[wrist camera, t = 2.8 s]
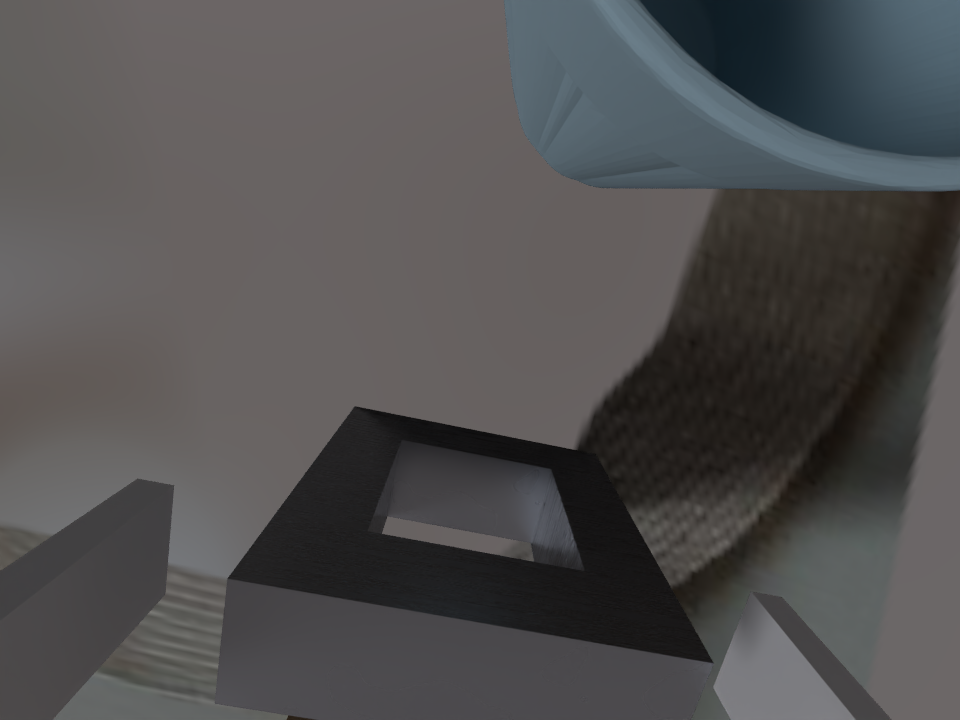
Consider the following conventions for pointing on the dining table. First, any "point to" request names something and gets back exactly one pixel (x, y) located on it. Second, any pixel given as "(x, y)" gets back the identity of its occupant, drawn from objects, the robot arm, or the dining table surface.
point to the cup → (741, 92)
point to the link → (454, 590)
